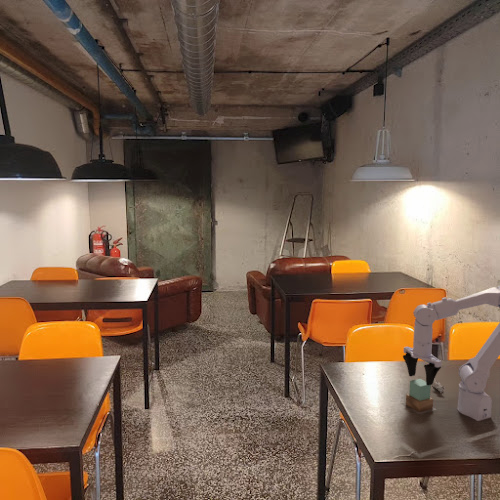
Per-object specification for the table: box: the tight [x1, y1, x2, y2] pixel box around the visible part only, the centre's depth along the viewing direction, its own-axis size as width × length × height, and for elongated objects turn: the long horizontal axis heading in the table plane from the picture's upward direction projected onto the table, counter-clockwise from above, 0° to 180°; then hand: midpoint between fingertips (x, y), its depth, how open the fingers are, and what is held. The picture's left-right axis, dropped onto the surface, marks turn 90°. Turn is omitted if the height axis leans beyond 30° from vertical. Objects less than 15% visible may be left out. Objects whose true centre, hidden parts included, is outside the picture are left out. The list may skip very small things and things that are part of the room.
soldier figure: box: [432, 377, 446, 394], centre depth 158 cm, size 8×5×12 cm
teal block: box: [408, 378, 432, 401], centre depth 143 cm, size 5×5×5 cm
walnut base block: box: [405, 393, 434, 412], centre depth 143 cm, size 6×6×4 cm
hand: (420, 380), depth 143 cm, fingers open, 7 cm apart
